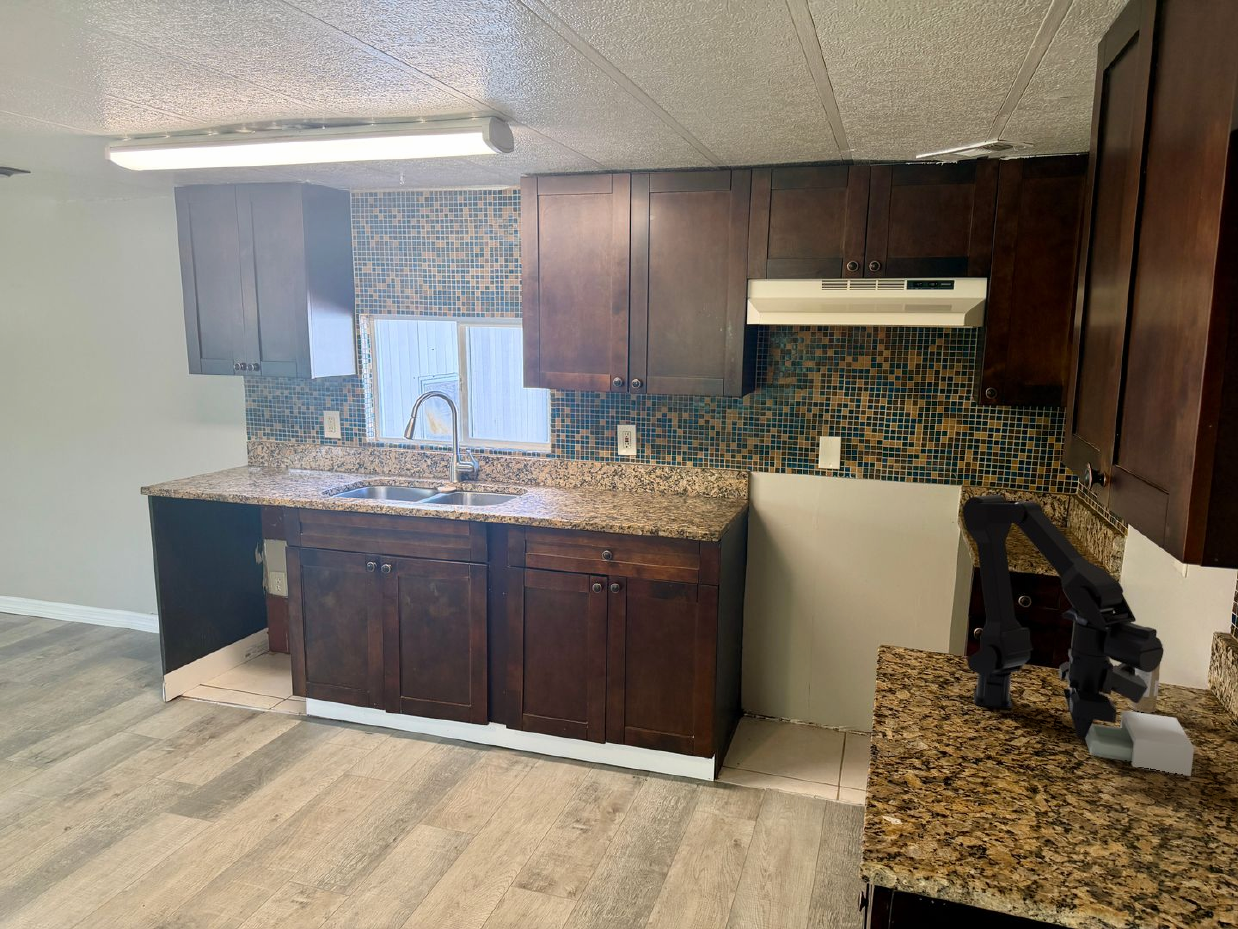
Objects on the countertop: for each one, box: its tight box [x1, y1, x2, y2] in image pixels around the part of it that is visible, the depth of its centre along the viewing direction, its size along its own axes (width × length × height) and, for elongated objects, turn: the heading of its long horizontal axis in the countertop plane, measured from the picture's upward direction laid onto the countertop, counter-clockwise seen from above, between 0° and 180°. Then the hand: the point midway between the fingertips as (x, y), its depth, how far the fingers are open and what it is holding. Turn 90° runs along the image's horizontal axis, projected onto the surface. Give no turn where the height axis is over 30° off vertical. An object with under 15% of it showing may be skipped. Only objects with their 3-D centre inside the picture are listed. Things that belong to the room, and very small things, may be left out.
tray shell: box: [1084, 723, 1134, 762], centre depth 142 cm, size 8×12×3 cm, turn 69°
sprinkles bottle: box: [1128, 641, 1164, 714], centre depth 157 cm, size 5×5×14 cm
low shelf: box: [1119, 710, 1195, 777], centre depth 140 cm, size 11×8×5 cm
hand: (1081, 738), depth 144 cm, fingers closed, pressing on tray shell
